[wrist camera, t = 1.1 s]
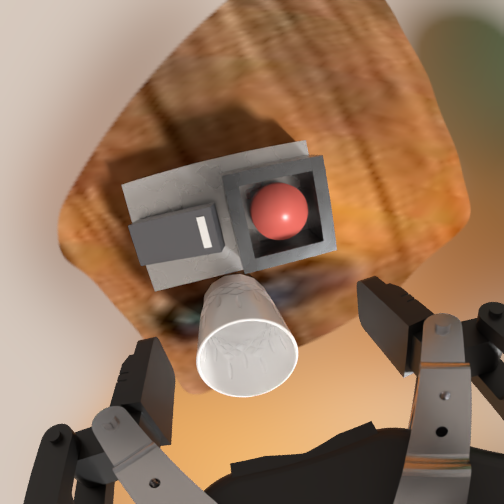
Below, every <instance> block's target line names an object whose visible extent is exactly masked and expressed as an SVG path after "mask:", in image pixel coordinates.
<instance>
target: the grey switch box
mask: <svg viewBox="0 0 504 504" xmlns="http://www.w3.org/2000/svg"><path fill="white" fill-rule="evenodd" d="M272 182H282V183H286V184H288V185H291V186H293V187H295V188H297V189H298V190H299V191H300V192H301V193H302V194H303V196H304V197H305V199H306V202H307V205H308V216H307V220H306V223H305V225H304V226H303V228H302V229H301V230H300V231H299V232H298V233H297V234H296V235H295V236H293V237H291V238H289V239H285V240H273V239H270V238H267V237H265V236H264V235H262V234H261V233H260V232H259V231H258V230H257V228H256V227H255V225H254V224H253V222H252V220H251V217H250V212H249V208H250V202H251V199H252V197H253V195H254V194H255V192H256V191H257V190H258V189H259V188H261V187H262V186H264V185H266V184H268V183H272ZM122 189H123V192H124V196H125V200H126V203H127V207H128V210H129V214H130V217H131V220H132V223H133V222H135V221H136V220H140V219H144V218H148V217H153V216H157V215H161V214H165V213H170V212H174V211H178V210H183V209H187V208H192V207H196V206H201V205H205V204H210V203H215V206H216V210H217V214H218V218H219V222H220V226H221V230H222V234H223V238H224V242H225V247H224V249H223V250H222V252H220V253H214V254H208V255H203V256H197V257H191V258H185V259H179V260H173V261H168V262H162V263H156V264H150V265H146V267H147V270H148V273H149V276H150V279H151V282H152V284H153V287H154V290H155V291H159V290H163V289H167V288H171V287H175V286H179V285H183V284H187V283H192V282H196V281H200V280H204V279H208V278H212V277H216V276H220V275H224V274H228V273H232V272H236V271H240V270H244V273H245V274H247V273H251V272H255V271H259V270H263V269H267V268H270V267H274V266H278V265H282V264H286V263H290V262H293V261H297V260H301V259H305V258H309V257H312V256H316V255H320V254H324V253H327V252H331V251H335V250H337V247H336V239H335V231H334V223H333V216H332V209H331V202H330V196H329V189H328V183H327V177H326V171H325V166H324V160H323V155H309V154H308V149H307V144H306V140H304V141H296V142H290V143H285V144H279V145H274V146H269V147H264V148H259V149H254V150H249V151H244V152H240V153H235V154H231V155H226V156H222V157H218V158H214V159H209V160H205V161H201V162H197V163H194V164H190V165H186V166H182V167H178V168H175V169H171V170H168V171H164V172H161V173H157V174H154V175H150V176H147V177H144V178H140V179H137V180H134V181H131V182H128V183H125V184H122Z"/></svg>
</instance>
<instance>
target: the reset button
mask: <svg viewBox="0 0 504 504" xmlns="http://www.w3.org/2000/svg"><path fill="white" fill-rule="evenodd" d="M249 212H250V217H251V220H252V222H253V224H254V225H255V227H256V228H257V230H258V231H259V232H260V233H261V234H262V235H264V236H265V237H267V238H270V239H273V240H285V239H289V238H291V237H293V236H295V235H296V234H297V233H298V232H299V231H300V230H301V229H302V228H303V226H304V225H305V223H306V220H307V216H308V205H307V202H306V199H305V197H304V196H303V194H302V193H301V192H300V191H299V190H298V189H297V188H295V187H293V186H291V185H288V184H286V183H282V182H272V183H268V184H266V185H264V186H262V187H261V188H259V189H258V190H257V191H256V192H255V194H254V195H253V197H252V199H251V202H250V208H249Z"/></svg>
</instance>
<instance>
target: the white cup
mask: <svg viewBox="0 0 504 504" xmlns="http://www.w3.org/2000/svg"><path fill="white" fill-rule="evenodd" d="M297 359H298V347H297V344H296V341H295V339H294V337H293V335H292V334H291V332H290V330H289V329H288V327H287V325H286V323H285V321H284V320H283V318H282V316H281V314H280V312H279V311H278V309H277V307H276V306H275V304H274V303H273V301H272V299H271V298H270V297H269V295H268V294H267V292H266V290H265V288H264V287H263V286H262V285H261V284H260V283H259V282H258V281H256V280H255V279H254V278H252V277H249V276H246V275H242V274H234V275H226V276H223V277H222V278H220V279H218V280H217V281H215V282H213V283H212V284H211V286H210V287H209V289H208V290H207V292H206V293H205V295H204V305H203V309H202V311H201V318H200V325H199V335H198V346H197V356H196V365H197V370H198V372H199V375H200V376H201V378H202V379H203V381H204V382H205V383H206V384H207V385H208V386H209V387H211V388H212V389H214V390H215V391H218V392H220V393H222V394H225V395H229V396H234V397H251V396H256V395H261V394H264V393H267V392H269V391H271V390H273V389H275V388H276V387H278V386H279V385H281V384H282V383H283V382H284V381H285V380H286V379H287V378H288V377H289V376H290V375H291V373H292V372H293V370H294V368H295V366H296V363H297Z"/></svg>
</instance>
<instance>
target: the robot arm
mask: <svg viewBox="0 0 504 504" xmlns="http://www.w3.org/2000/svg"><path fill="white" fill-rule="evenodd" d="M357 298H358V312H359V319H360V322H361V325H362V327H363V328H364V330H365V331H366V332H367V333H368V334H369V336H370V337H371V338H372V339H373V341H374V342H375V343H376V344H377V345H378V347H379V348H380V349H381V350H382V351H383V352H384V354H385V355H386V356H387V358H388V359H389V360H390V361H391V363H392V364H393V365H394V366H395V367H396V369H397V370H398V371H399V372H400V374H401V375H402V376H403V377H406V376H409V375H410V374H413V373H414V374H415V375H416V376H417V378H416V384H415V391H414V398H413V404H412V410H411V415H410V420H409V425H408V429H405V428H382V429H375V427H374V425H373V423H372V421H370V422H368V423H366V424H363V425H361V426H358V427H356V428H353V429H351V430H348V431H345V432H343V433H340V434H338V435H336V436H335V437H333V438H331V439H330V440H328V441H327V442H325V443H323V444H321V445H319V446H318V447H316V448H314V449H312V450H311V451H309V452H307V453H303V454H293V455H278V456H264V457H259V458H255V459H250V460H246V461H241V462H236V463H231V464H230V465H231V474H228V475H226V476H224V477H222V478H220V479H219V480H217V481H216V482H214V483H213V484H211V485H210V486H209V487H208V488H206V489H205V490H204V491H203V490H201V489H200V488H199V487H198V486H197V485H195V483H194V482H193V481H192V480H191V479H189V478H188V477H187V476H186V475H185V474H184V473H183V472H182V471H181V470H180V469H179V468H178V467H177V466H176V465H175V464H174V463H173V462H172V461H171V460H170V459H169V458H168V457H167V455H166V454H165V453H164V452H163V451H162V450H161V449H160V446H164V445H171V437H172V419H173V404H174V390H175V374H174V371H173V368H172V365H171V363H170V361H169V359H168V357H167V355H166V353H165V351H164V349H163V347H162V345H161V343H160V341H159V339H158V338H157V337H153V338H149V339H144V340H140V341H138V342H137V345H136V349H135V352H134V354H133V355H129V356H128V358H127V359H126V360H125V362H124V363H123V364H122V367H121V370H120V375H119V377H118V380H117V381H118V383H116V386H115V390H114V393H113V397H112V400H111V404H110V407H108V408H105V409H103V410H102V411H100V412H99V413H98V414H97V415H96V416H95V418H94V419H93V422H92V427H90V428H87V429H84V430H81V431H78V432H75V433H74V431H73V430H72V429H71V428H70V427H69V426H68V425H66V424H57V425H55V426H52V427H51V428H50V429H48V430H47V431H46V432H45V434H44V436H43V437H42V440H41V443H40V446H39V449H38V452H37V456H36V459H35V462H34V466H33V469H32V473H31V476H30V480H29V484H28V488H27V491H26V496H25V500H24V504H113V496H114V484H115V481H117V480H119V481H120V482H121V484H122V485H123V487H124V488H125V490H126V491H127V492H128V494H129V495H130V496H131V498H132V499H133V501H134V502H135V503H136V504H504V454H502V453H496V452H492V451H487V450H483V449H478V448H474V447H471V446H470V440H471V414H472V413H471V412H472V410H471V408H472V407H471V406H472V403H471V401H472V400H471V399H472V397H471V381H472V383H473V384H474V385H475V386H476V387H477V388H478V390H479V391H480V392H481V393H482V394H483V396H484V397H485V398H486V399H487V400H488V402H489V403H490V404H491V405H492V406H493V408H494V409H495V410H496V411H497V413H498V414H499V415H500V416H501V417H502V419H503V420H504V362H503V361H502V360H501V359H500V358H501V355H502V353H503V354H504V304H501V303H498V302H489V303H486V304H483V305H482V306H481V307H480V308H479V312H478V317H477V318H475V319H471V320H467V321H462V322H460V320H459V319H458V318H457V317H455V316H453V315H450V314H445V313H439V314H433V313H432V312H431V311H430V310H429V309H427V308H426V307H425V306H424V305H422V304H421V303H420V302H419V301H417V300H416V299H414V297H412V296H411V295H410V294H408V293H407V292H406V291H405V290H404V289H402V288H401V287H399V286H396V285H393V284H390V283H389V284H385V283H384V282H383V281H381V280H380V279H379V278H378V277H376V276H373V277H370V278H367V279H364V280H361V281H358V282H357ZM74 478H75V479H76V480H77V484H76V491H75V497H74V500H73V498H72V487H73V481H74Z"/></svg>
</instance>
